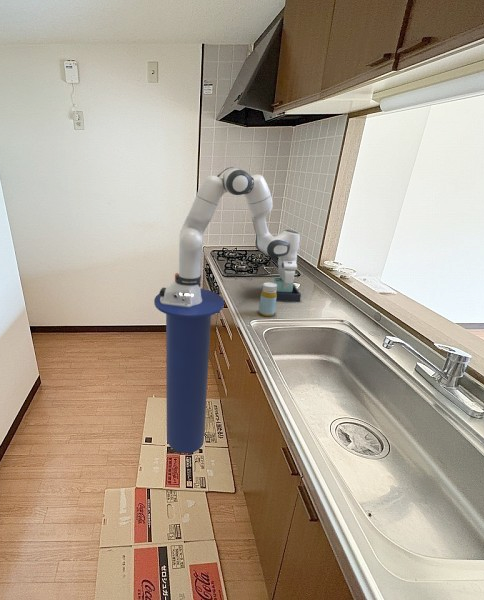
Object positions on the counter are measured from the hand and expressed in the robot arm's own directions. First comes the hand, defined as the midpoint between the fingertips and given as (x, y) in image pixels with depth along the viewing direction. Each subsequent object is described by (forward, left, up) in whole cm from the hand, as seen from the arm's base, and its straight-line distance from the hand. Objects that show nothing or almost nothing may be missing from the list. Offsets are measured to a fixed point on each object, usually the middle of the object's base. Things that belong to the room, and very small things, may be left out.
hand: (283, 286), depth 174 cm
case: (0, 0, -2) cm, 2 cm away
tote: (0, 0, -5) cm, 5 cm away
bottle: (-12, -24, -6) cm, 27 cm away
